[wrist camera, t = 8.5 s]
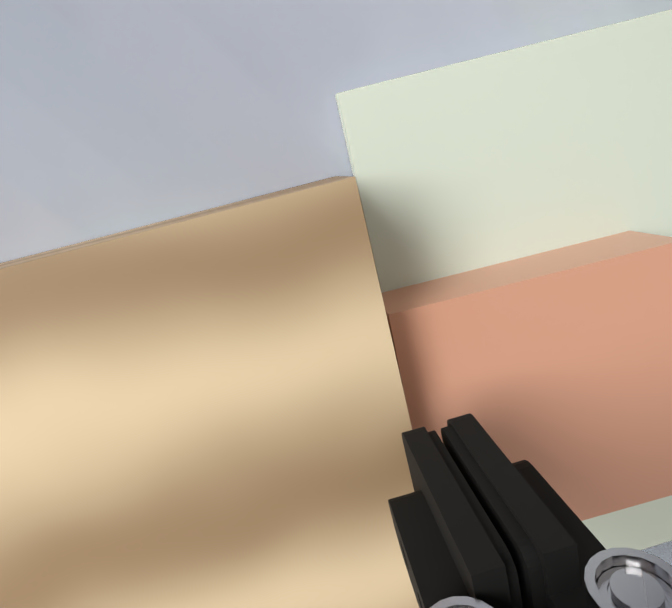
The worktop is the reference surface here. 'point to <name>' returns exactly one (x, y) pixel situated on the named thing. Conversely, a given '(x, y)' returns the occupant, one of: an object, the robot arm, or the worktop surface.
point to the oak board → (204, 414)
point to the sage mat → (521, 169)
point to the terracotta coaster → (553, 364)
